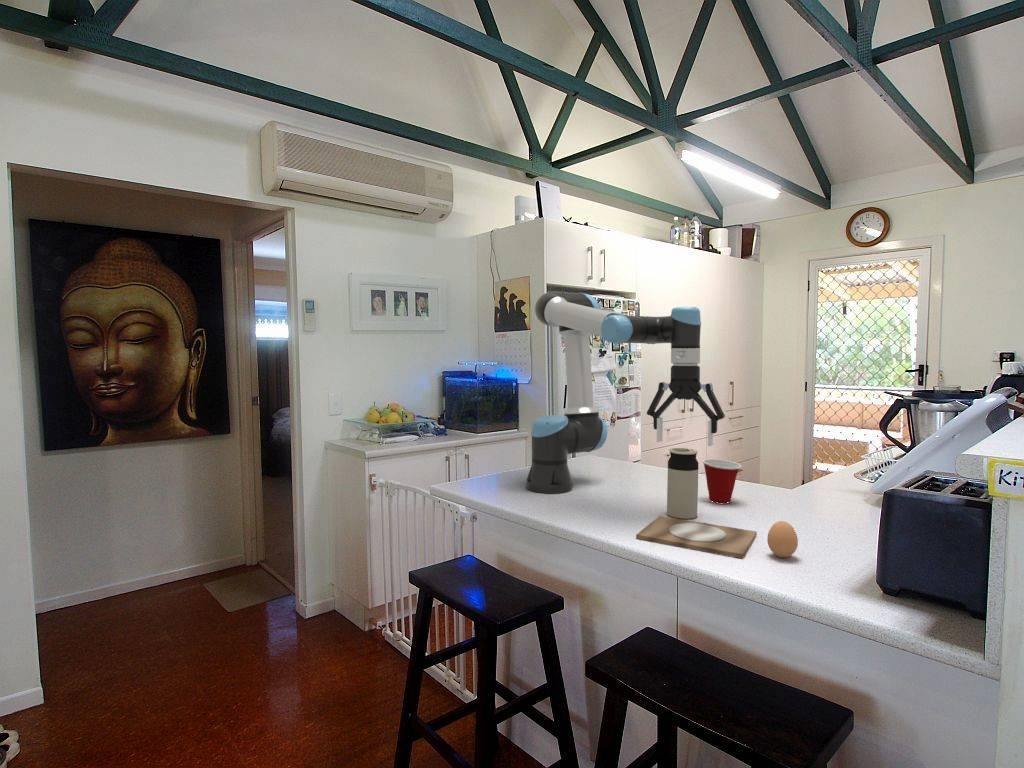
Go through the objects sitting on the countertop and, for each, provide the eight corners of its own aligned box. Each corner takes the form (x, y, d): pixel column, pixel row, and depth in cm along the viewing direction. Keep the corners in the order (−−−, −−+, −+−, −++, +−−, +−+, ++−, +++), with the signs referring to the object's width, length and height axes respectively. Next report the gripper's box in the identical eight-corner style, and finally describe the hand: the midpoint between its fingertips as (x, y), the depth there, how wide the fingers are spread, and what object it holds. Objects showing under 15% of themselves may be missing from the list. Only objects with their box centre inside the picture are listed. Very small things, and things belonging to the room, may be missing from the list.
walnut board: (636, 538, 134) (636, 532, 134) (659, 519, 149) (659, 514, 149) (742, 558, 121) (743, 552, 121) (756, 535, 136) (756, 529, 136)
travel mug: (665, 517, 151) (666, 451, 150) (668, 509, 158) (669, 446, 157) (696, 521, 148) (698, 453, 147) (697, 512, 155) (699, 448, 154)
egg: (783, 563, 119) (784, 527, 118) (760, 554, 124) (761, 519, 124) (803, 559, 121) (804, 523, 121) (780, 550, 127) (781, 515, 126)
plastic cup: (734, 509, 159) (735, 467, 158) (696, 502, 166) (697, 462, 165) (744, 500, 168) (746, 461, 167) (708, 495, 174) (709, 457, 174)
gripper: (635, 364, 154) (635, 441, 155) (731, 365, 141) (729, 449, 142) (644, 364, 160) (644, 437, 161) (737, 364, 147) (735, 445, 148)
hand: (684, 443), depth 152 cm, fingers open, 13 cm apart
